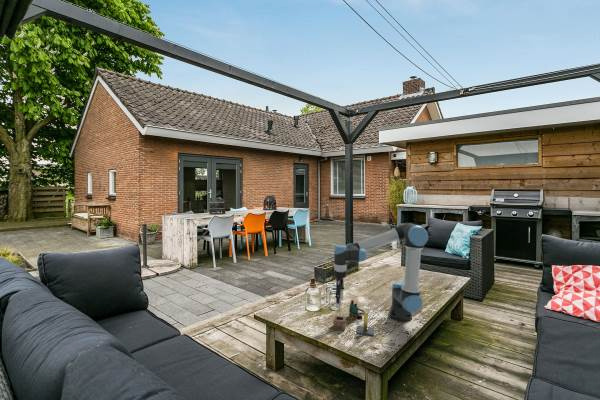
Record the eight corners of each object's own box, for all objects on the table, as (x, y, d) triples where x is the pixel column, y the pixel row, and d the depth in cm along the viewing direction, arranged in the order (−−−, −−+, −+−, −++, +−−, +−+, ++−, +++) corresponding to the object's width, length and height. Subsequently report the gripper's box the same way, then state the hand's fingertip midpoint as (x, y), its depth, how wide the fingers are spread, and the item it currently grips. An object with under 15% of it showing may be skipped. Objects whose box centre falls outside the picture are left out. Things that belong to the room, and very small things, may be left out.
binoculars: (367, 304, 205) (354, 304, 202) (365, 319, 206) (352, 320, 202) (360, 299, 214) (347, 299, 210) (358, 313, 214) (346, 314, 211)
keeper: (374, 329, 191) (374, 309, 190) (373, 336, 182) (374, 316, 181) (357, 327, 193) (358, 308, 193) (356, 333, 185) (357, 314, 184)
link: (345, 325, 195) (345, 316, 194) (344, 331, 188) (344, 321, 188) (334, 324, 197) (335, 315, 196) (333, 329, 190) (333, 320, 189)
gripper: (336, 264, 203) (336, 295, 204) (330, 275, 179) (330, 311, 180) (348, 265, 201) (347, 297, 202) (343, 277, 177) (343, 312, 178)
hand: (339, 303), depth 191 cm, fingers open, 13 cm apart
